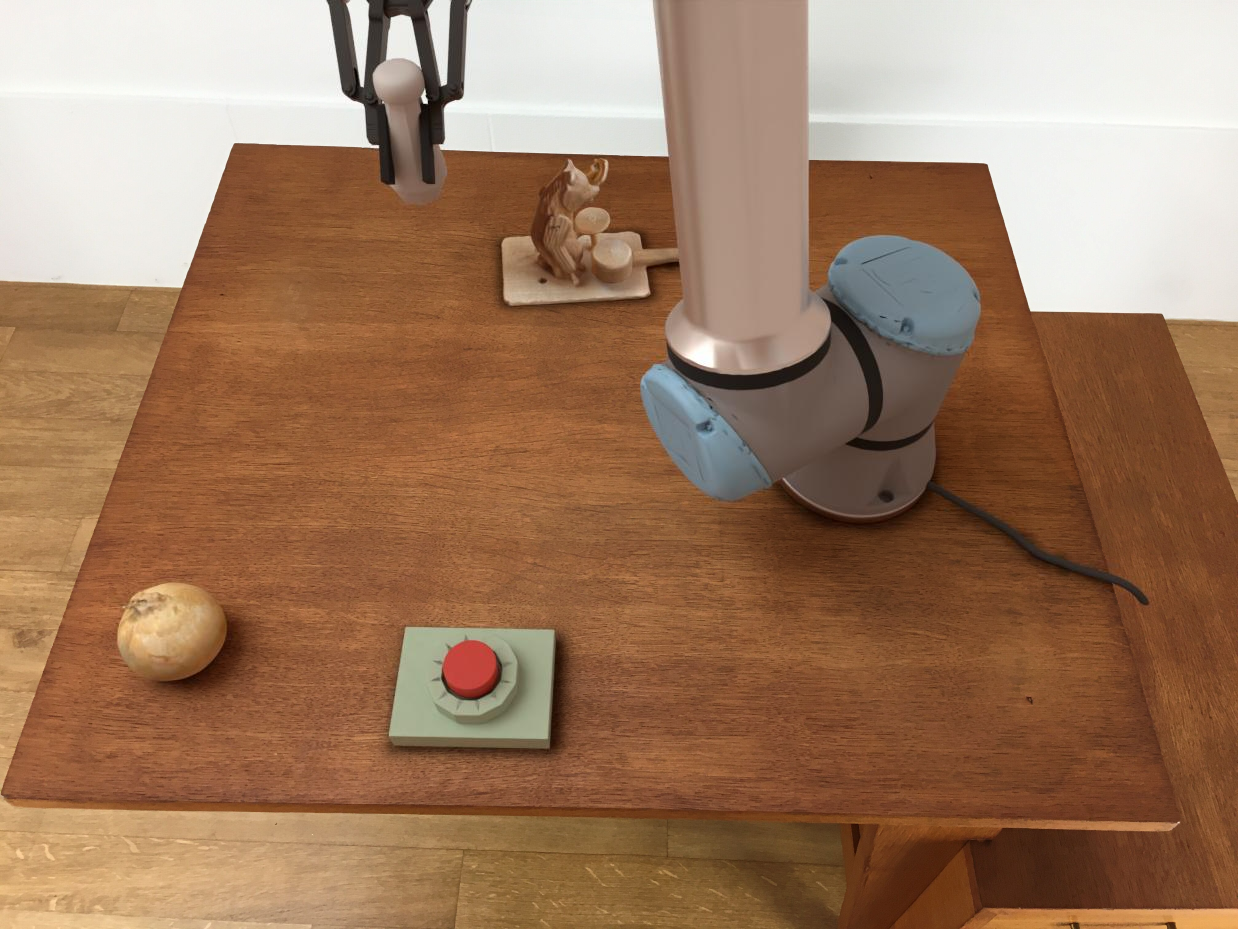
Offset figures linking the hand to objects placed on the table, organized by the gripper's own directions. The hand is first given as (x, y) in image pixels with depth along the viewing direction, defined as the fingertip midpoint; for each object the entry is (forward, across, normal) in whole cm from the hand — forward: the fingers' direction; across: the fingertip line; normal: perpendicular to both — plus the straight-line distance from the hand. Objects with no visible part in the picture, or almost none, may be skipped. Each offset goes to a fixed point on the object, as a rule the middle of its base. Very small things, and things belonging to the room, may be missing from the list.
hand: (408, 182), depth 86 cm
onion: (+38, +18, +14) cm, 44 cm away
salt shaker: (0, 0, -6) cm, 6 cm away
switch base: (+41, -6, +18) cm, 45 cm away
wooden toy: (+8, -18, -16) cm, 25 cm away
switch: (+39, -6, +20) cm, 44 cm away
